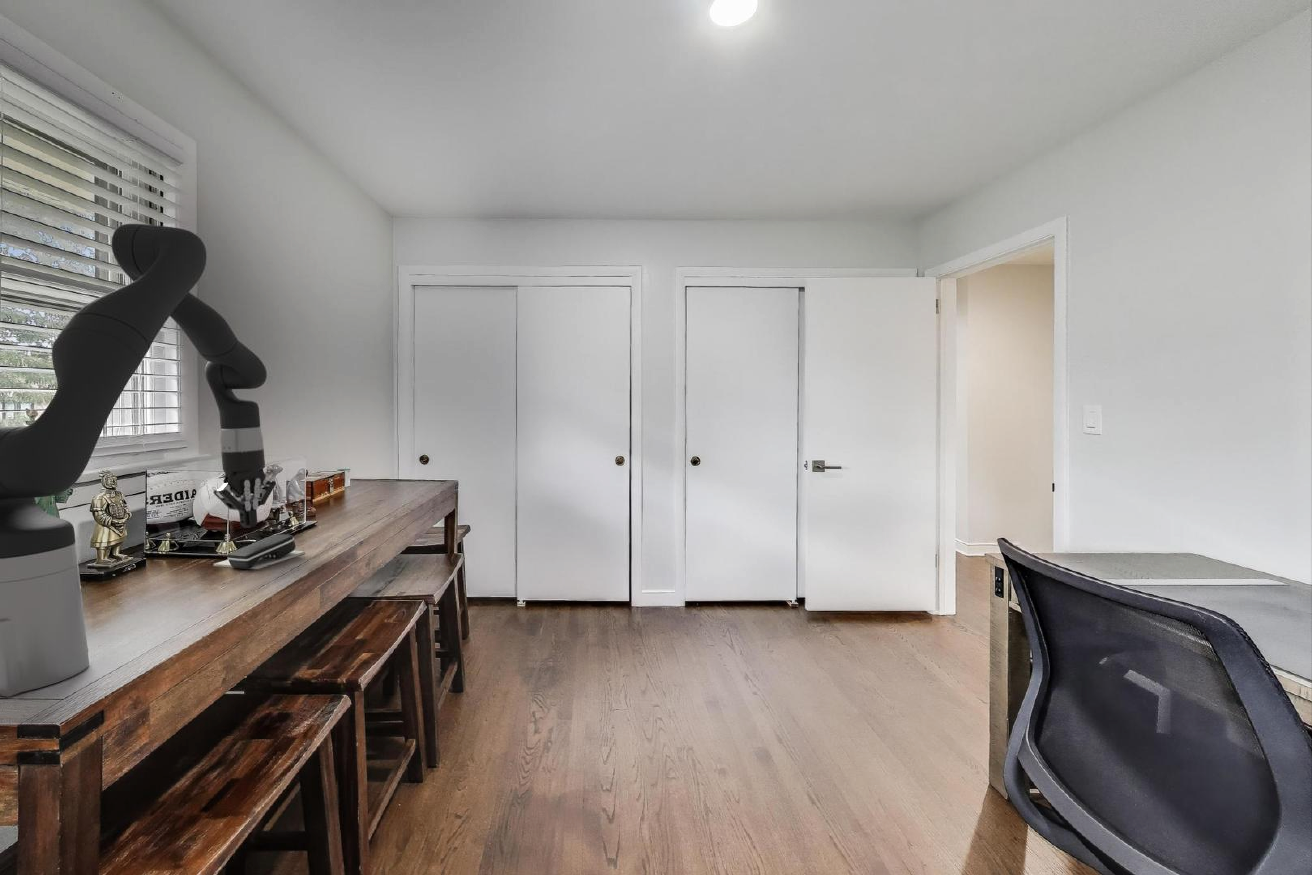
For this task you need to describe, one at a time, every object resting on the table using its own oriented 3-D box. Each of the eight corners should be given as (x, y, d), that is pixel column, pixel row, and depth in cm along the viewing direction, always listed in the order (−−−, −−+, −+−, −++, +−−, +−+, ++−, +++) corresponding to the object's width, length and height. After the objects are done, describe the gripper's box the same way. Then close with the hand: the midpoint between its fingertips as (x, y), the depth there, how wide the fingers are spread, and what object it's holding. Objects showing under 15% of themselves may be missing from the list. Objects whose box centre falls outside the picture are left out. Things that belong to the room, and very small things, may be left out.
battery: (250, 573, 119) (301, 549, 130) (245, 556, 119) (296, 534, 129) (229, 571, 122) (280, 548, 132) (224, 554, 121) (276, 533, 131)
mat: (256, 569, 120) (256, 567, 120) (213, 566, 124) (213, 563, 123) (305, 553, 132) (304, 551, 132) (264, 550, 135) (264, 548, 135)
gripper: (225, 452, 116) (233, 535, 118) (283, 445, 129) (289, 520, 130) (198, 452, 118) (205, 533, 120) (257, 445, 131) (263, 519, 132)
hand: (249, 526), depth 125 cm, fingers closed
